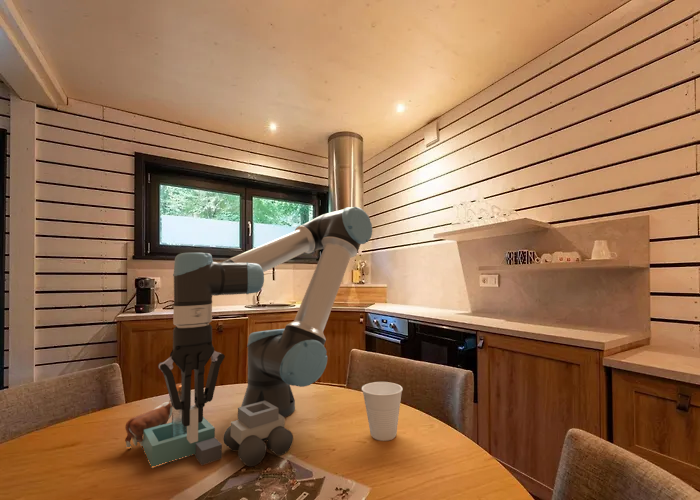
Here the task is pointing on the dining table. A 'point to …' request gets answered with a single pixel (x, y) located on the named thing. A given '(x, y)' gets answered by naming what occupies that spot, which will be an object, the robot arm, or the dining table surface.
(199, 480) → the dining table surface
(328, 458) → the dining table surface
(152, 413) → the bull figurine
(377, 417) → the cup
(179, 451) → the tray
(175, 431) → the glass jar
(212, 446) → the block
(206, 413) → the dining table surface
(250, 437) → the trolley
